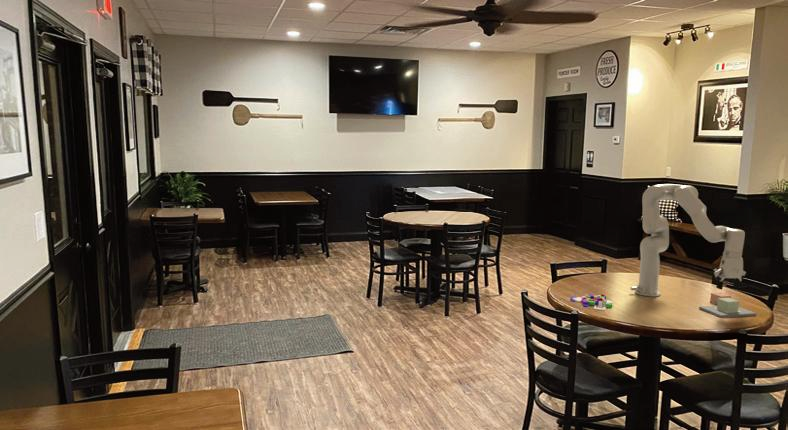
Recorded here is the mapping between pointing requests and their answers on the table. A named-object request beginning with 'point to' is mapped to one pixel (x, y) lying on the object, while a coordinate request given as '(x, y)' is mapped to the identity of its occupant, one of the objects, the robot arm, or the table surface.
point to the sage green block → (727, 304)
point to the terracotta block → (718, 295)
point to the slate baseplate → (722, 314)
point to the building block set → (593, 301)
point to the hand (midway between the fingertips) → (727, 288)
